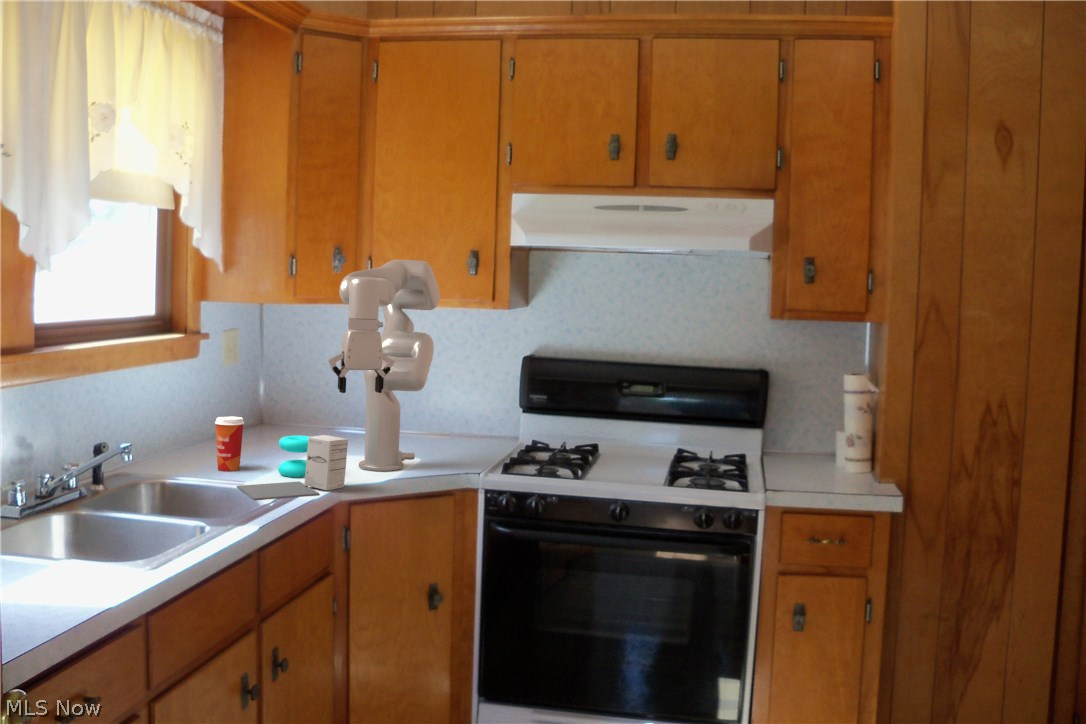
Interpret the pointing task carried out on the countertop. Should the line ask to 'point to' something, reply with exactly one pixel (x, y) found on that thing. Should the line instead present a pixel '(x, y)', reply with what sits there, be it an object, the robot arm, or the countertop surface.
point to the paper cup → (229, 442)
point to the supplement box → (326, 462)
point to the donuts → (297, 446)
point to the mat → (277, 490)
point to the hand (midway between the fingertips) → (360, 392)
